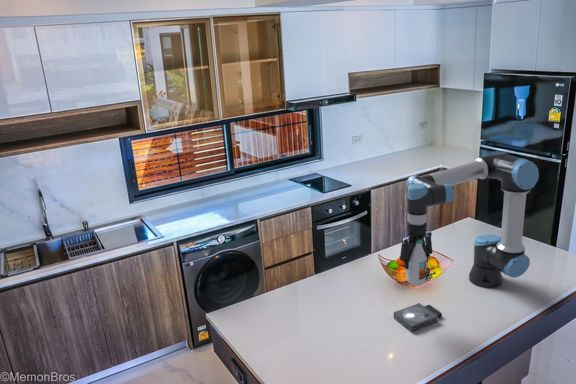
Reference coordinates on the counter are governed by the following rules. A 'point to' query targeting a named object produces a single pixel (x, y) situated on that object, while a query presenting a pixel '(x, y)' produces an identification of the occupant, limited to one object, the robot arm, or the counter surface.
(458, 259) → the counter surface
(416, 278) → the milk bottle
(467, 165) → the robot arm
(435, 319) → the dark grey flat block
